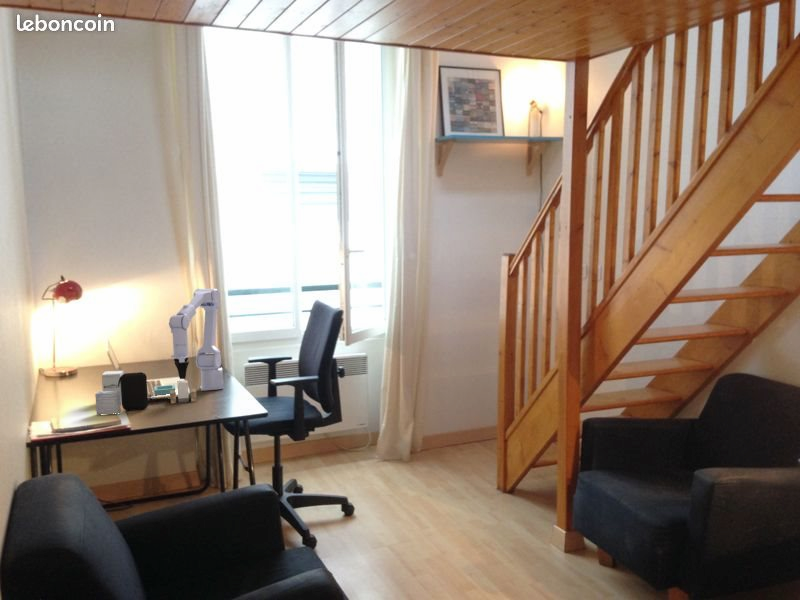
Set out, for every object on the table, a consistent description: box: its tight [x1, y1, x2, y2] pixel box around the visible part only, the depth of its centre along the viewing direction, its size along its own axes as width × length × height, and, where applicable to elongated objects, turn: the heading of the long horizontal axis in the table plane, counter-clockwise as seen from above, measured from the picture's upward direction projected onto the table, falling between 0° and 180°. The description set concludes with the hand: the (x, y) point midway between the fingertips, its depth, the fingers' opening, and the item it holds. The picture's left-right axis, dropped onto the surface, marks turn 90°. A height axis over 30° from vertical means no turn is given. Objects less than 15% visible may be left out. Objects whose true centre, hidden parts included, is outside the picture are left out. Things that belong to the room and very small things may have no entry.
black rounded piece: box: [118, 371, 149, 411], centre depth 286 cm, size 11×3×15 cm, turn 106°
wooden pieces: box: [170, 388, 198, 404], centre depth 300 cm, size 10×6×4 cm, turn 109°
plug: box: [176, 379, 190, 403], centre depth 300 cm, size 4×4×8 cm
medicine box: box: [94, 390, 122, 416], centre depth 280 cm, size 8×4×9 cm, turn 92°
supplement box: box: [101, 370, 124, 405], centre depth 299 cm, size 7×7×13 cm
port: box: [153, 384, 176, 396], centre depth 310 cm, size 12×12×4 cm
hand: (182, 377), depth 299 cm, fingers open, 7 cm apart
